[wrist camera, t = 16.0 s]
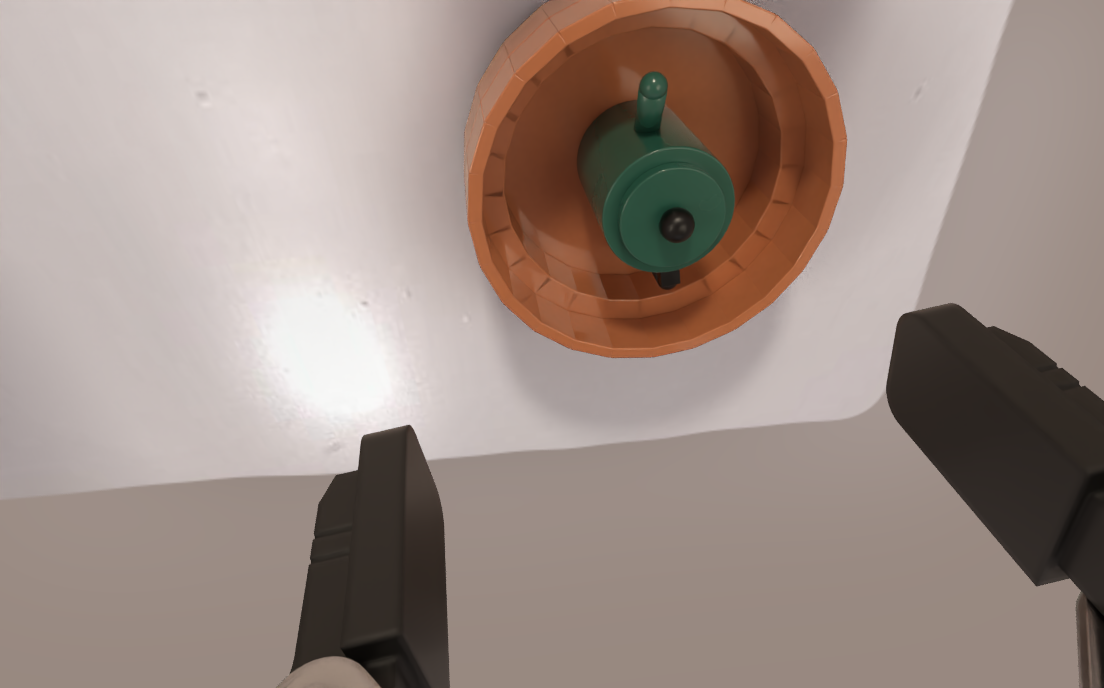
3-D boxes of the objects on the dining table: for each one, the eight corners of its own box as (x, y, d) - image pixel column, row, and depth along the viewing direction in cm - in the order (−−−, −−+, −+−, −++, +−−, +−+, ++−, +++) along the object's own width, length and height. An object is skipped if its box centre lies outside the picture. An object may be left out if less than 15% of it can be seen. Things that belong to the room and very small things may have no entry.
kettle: (693, 227, 36) (752, 311, 29) (590, 250, 36) (624, 340, 29) (681, 26, 30) (751, 73, 23) (558, 53, 30) (592, 109, 23)
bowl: (503, 322, 39) (513, 389, 34) (422, 14, 29) (418, 45, 24) (783, 260, 39) (832, 317, 34) (793, -68, 29) (864, -54, 24)
